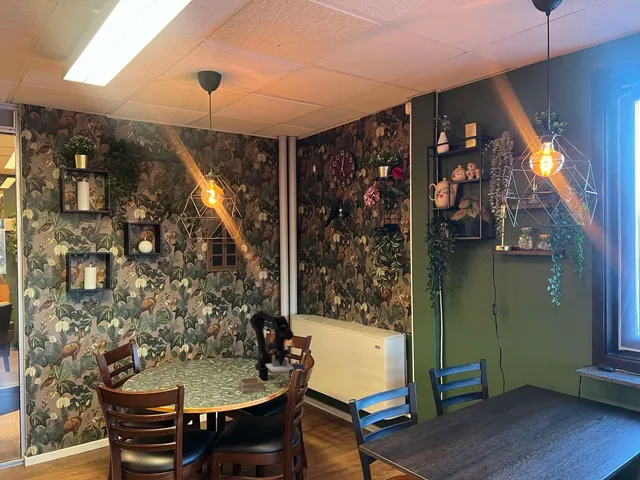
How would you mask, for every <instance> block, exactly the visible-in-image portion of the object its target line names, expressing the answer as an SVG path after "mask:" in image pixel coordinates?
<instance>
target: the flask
mask: <svg viewBox="0 0 640 480" xmlns="http://www.w3.org/2000/svg"><path fill="white" fill-rule="evenodd" d="M295 361H296V362H291V363H289V364H290V365H291V366H293V367H294V369H290V370H289V379H291V374H292V372H293V371H294V370H296V369H304V370H305V363H299V360H295Z"/></svg>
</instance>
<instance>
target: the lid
mask: <svg viewBox="0 0 640 480" xmlns="http://www.w3.org/2000/svg"><path fill="white" fill-rule="evenodd" d="M266 367H268V368H269V369H268V370H270V371H271V372H273V373H277V372H286V371H290V369H294V367H293V366H291V365H290V363H288V359H287V358H285V359H284V361H283V363H282V365H280V364H279V359H276V358H274V359H272V364H266Z"/></svg>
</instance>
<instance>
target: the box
mask: <svg viewBox="0 0 640 480" xmlns="http://www.w3.org/2000/svg"><path fill="white" fill-rule="evenodd" d="M237 388H238V390H239V391H240V392H241V393H242V394H243V395H246V394H253V393H261V392H265V382H264V381H262V380H261V379H260V378H259V376H255V377H245V378H238V381H237Z"/></svg>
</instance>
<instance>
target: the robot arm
mask: <svg viewBox="0 0 640 480" xmlns="http://www.w3.org/2000/svg"><path fill="white" fill-rule="evenodd" d="M266 320H267V321H269V322H271V325H273V327H272V330H274V338H273V340H272V342H270V343H267V344H266V338H265V333H264V326H265V322H266ZM249 323H250V325H251V328H252V329H253V330H254V332H255V338H256V343H257V348H258V349H257V350H258V352H259V353H258V357H257V363H256V364H255V366H254V368H255V371H258V377H259V378H260V379H261V380H262V381H263V382H264V381H265V382H266V381H271V379H270V378H269V370H270V369H269V368H268V367H266V364H272V357H273V356H272V354H271V353H270V352H271V351H272V353H273V354H274V355H275V359H279V364H280V365H282V363H283V361H284V359H286V357H287V356H289V355H290V351H289V349H287V348H286V346H285V343H286V341H291V340H292V339H293V338H294V332H293V331H292V330H291V329H292V328H290V324H289V323H288V320H287V318H286V316H284V315H281V314H279V315H276V314H275V313H272V312H270V311H268V310H266V309H262V310H259V311H257V312H256V313H255V314H253V315H252V316H251V317H250V319H249Z"/></svg>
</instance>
